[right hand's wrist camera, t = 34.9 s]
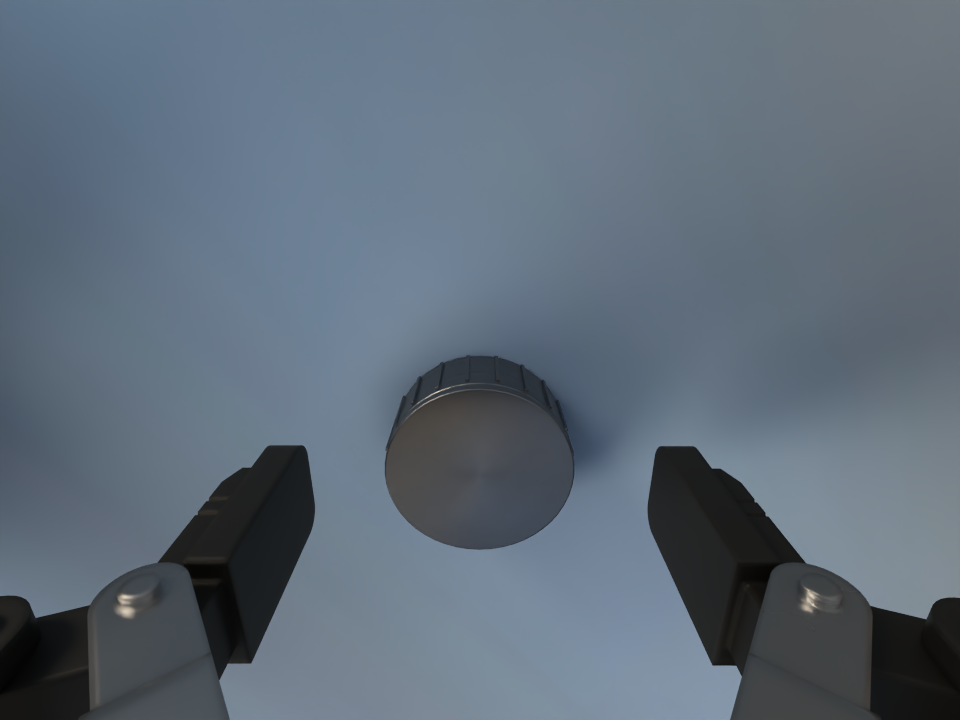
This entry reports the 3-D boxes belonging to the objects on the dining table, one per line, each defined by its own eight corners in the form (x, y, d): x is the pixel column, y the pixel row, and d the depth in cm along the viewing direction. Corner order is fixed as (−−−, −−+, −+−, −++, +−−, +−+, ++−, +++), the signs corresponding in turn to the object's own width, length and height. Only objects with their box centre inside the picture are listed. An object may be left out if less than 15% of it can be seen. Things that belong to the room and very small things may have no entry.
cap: (492, 525, 14) (495, 579, 13) (364, 443, 13) (345, 489, 12) (597, 418, 13) (616, 460, 11) (463, 319, 12) (460, 347, 10)
